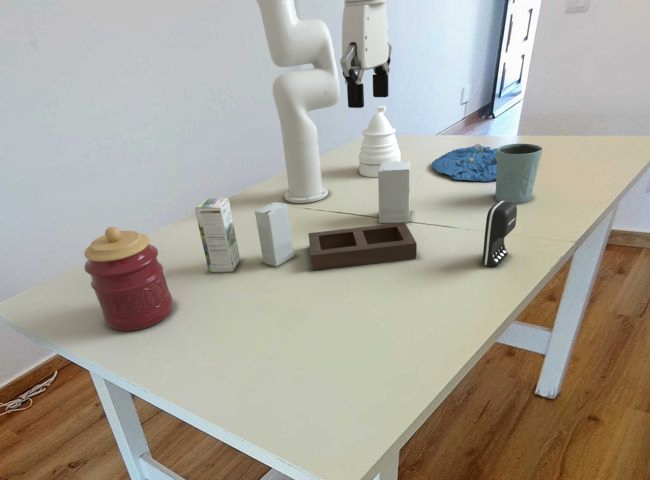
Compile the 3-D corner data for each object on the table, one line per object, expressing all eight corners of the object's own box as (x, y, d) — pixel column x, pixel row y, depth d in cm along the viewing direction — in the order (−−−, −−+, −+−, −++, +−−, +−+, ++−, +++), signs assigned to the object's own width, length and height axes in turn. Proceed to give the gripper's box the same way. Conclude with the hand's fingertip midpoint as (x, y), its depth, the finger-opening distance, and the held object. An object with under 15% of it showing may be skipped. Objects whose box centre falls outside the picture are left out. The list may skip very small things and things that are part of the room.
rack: (309, 247, 114) (308, 233, 112) (404, 236, 113) (404, 221, 111) (312, 270, 104) (311, 255, 102) (416, 258, 104) (416, 243, 102)
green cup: (489, 203, 124) (495, 154, 117) (494, 190, 132) (499, 142, 125) (533, 205, 121) (542, 154, 114) (535, 191, 128) (543, 142, 121)
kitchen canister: (138, 339, 89) (104, 247, 79) (92, 323, 95) (55, 237, 85) (188, 304, 97) (164, 218, 87) (143, 292, 104) (115, 210, 93)
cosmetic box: (281, 253, 113) (273, 200, 106) (295, 257, 110) (288, 203, 103) (262, 263, 109) (252, 210, 102) (276, 268, 107) (268, 213, 100)
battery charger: (499, 269, 96) (507, 212, 90) (480, 265, 98) (486, 209, 92) (512, 255, 101) (521, 200, 94) (494, 252, 103) (501, 197, 96)
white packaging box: (409, 222, 120) (409, 169, 112) (378, 223, 121) (377, 170, 114) (410, 211, 125) (411, 160, 118) (381, 212, 127) (380, 161, 120)
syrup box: (216, 261, 113) (201, 198, 104) (241, 260, 112) (228, 196, 103) (208, 273, 108) (192, 208, 100) (234, 272, 107) (220, 206, 99)
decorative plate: (552, 180, 137) (556, 161, 134) (442, 189, 139) (444, 170, 135) (518, 148, 160) (521, 131, 157) (424, 156, 162) (425, 140, 159)
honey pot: (372, 163, 163) (370, 103, 153) (407, 166, 156) (408, 103, 146) (351, 175, 155) (348, 112, 145) (388, 178, 148) (387, 113, 138)
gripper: (370, -7, 94) (373, 93, 104) (320, 0, 83) (328, 111, 93) (407, -11, 90) (406, 93, 100) (359, -5, 79) (363, 112, 89)
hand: (368, 102), depth 96 cm, fingers open, 9 cm apart
